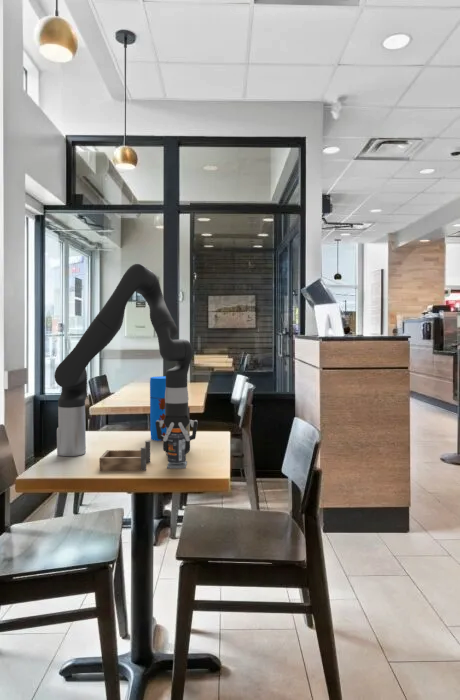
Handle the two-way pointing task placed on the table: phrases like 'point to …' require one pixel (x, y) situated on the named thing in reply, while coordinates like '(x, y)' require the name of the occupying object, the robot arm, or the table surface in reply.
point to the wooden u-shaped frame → (125, 459)
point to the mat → (177, 465)
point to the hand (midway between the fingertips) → (176, 452)
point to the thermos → (157, 404)
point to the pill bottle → (176, 446)
